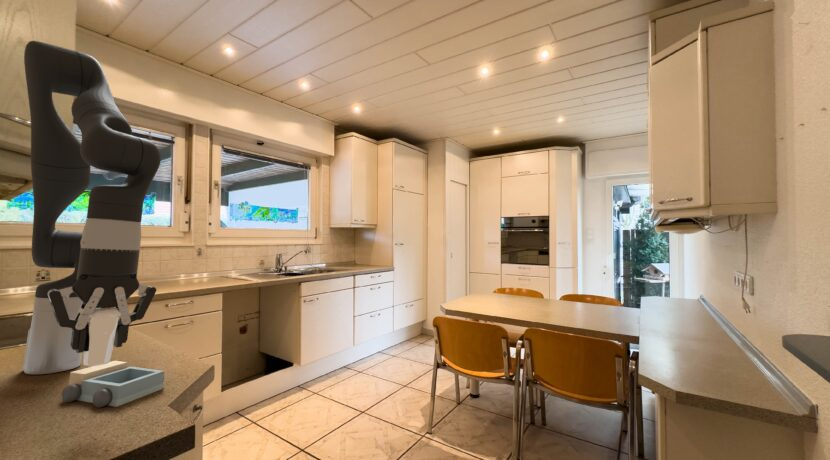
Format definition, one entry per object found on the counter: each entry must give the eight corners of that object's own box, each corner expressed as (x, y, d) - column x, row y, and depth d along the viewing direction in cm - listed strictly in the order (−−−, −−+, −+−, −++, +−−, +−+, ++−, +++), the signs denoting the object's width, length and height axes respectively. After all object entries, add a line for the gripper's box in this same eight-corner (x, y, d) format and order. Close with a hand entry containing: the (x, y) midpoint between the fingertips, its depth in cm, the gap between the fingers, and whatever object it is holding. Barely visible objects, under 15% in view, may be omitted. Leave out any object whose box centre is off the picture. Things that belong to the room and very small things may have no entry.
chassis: (56, 400, 63) (59, 375, 63) (120, 380, 74) (122, 358, 75) (109, 409, 60) (112, 382, 61) (167, 386, 71) (170, 364, 72)
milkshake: (126, 358, 58) (134, 300, 59) (98, 368, 53) (107, 305, 54) (99, 356, 58) (107, 299, 59) (69, 366, 53) (78, 303, 54)
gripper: (54, 245, 49) (38, 364, 48) (168, 249, 60) (158, 345, 59) (47, 244, 53) (32, 352, 52) (155, 248, 65) (145, 337, 63)
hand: (99, 348), depth 56 cm, fingers closed on milkshake, 4 cm apart
